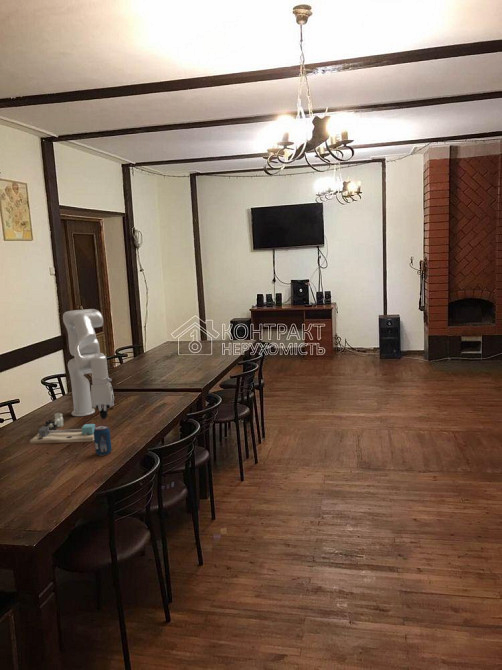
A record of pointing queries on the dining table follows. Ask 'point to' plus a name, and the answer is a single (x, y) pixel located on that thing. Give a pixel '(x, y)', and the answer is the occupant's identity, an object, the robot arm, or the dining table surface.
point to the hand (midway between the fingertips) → (104, 418)
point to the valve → (55, 422)
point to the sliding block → (88, 429)
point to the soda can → (102, 440)
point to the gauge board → (60, 436)
